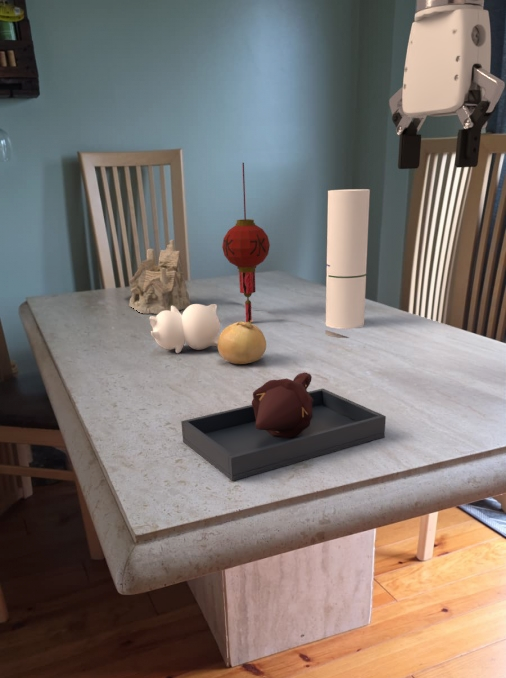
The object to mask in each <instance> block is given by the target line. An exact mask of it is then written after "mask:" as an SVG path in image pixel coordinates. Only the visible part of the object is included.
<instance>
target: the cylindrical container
mask: <svg viewBox="0 0 506 678" xmlns="http://www.w3.org/2000/svg"><path fill="white" fill-rule="evenodd" d="M370 192H371V189H366V188H361V189H360V188H359V189H358V188H357V189H356V188H354V189H353V188H352V189H330V190H327V226H326V227H327V229H326V231H327V232H326V233H327V234H326V237H327V239H326V286H325V288H326V289H325V290H326V291H325V293H326V294H325V295H326V296H325V326H326V327H328V328H331V329H340V330H348V329H349V330H351V329H357V328H361V327H363V326H365V313H366V312H365V311H366V309H365V308H366V287H367V286H366V285H367V266H368V265H367V262H368V241H369V216H370V215H369V214H370V196H371V193H370ZM325 335H327V336H328V337H333V338H340V339H346V338H347V339H349V338H350V336H346V335H343V334H340V333H337V332H334V331H330V330H328V329H326V330H325Z"/></svg>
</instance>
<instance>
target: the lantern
mask: <svg viewBox="0 0 506 678" xmlns="http://www.w3.org/2000/svg"><path fill="white" fill-rule="evenodd" d="M241 165H242V186H243V187H242V188H243V190H242V191H243V217H244V218H243V219H236V223H235V224H234V226H233V227H231V228H229V229H228V230H227V232H226V234H225V235H224V237H223V240H222V246H221V248H222V251H223V256H224V257H225V258H226V260H227V261H228V262H229V263H230V264H231V265H234V266H235V267H237V270H238V277H239V293H240V294H243V295H244V297H245V298H246V300H245V301H244V309H245V311H244V312H245V322H249V323H250V321H252V320H253V319H252V302H251V300H250V298H251V296H252V295H253V294H254V293H256V292H257V291H256V269H257V266H259V265H260V264H262V263H263V262H264V261H265V260H266V258H267V257H268V255H269V251H270V247H271V244H270V239H269V236H268V234H267V233H266V232H265V230H264V229H263V228H262V227H260V226H259V225H257V224H256V222H255V219H253V218H251V219H250V218H248V219H247V216H246V215H247V214H246V213H247V211H246V210H247V209H246V185H245V183H246V182H245V163H244V162H242V164H241ZM251 324H253V321H252V322H251Z"/></svg>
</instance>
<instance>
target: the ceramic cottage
mask: <svg viewBox="0 0 506 678" xmlns="http://www.w3.org/2000/svg"><path fill="white" fill-rule="evenodd" d="M157 263H158V264H157ZM183 263H184V262H183V259H182V257H181V252H180V250H176V245H175V239H170V240H169V244H167V245H166V248H165V249H160V252H159V258H158V262H157V256H156V251H155V249H154V248H148V249H147V250H146V259H145V260H142V261H141V264H140V265H139V267H138V268H137V271H136V272H135V273H134V275H133V276H132V277H131V278H130V280H129V284H130V285H131V288H130V293H131V297H130V298H129V303H128V306H129V307H130V308H131V307H132V309H133V308H134V309H133V310H134V311H136V310H137V311H138V312H140V313H139V314H141V313H143V314H145V315H146V314H147V315H150V314H153V315H158V314H159V313H160V312H162V311H165V310H168V311H171V306H172V305H173V306H175V307H176V308H177V309H178V311H182V310H185V309H186V308H187V307H188V306H190V305H192V304H191V299H190V295H189V292H188V288H187V287H188V286H187V283H186V280H185V279H184V276H185V275H184V274H185V272H184V269H183V266H184V264H183ZM137 311H136V312H137ZM138 312H137V313H138Z"/></svg>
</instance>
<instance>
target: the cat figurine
mask: <svg viewBox="0 0 506 678" xmlns="http://www.w3.org/2000/svg"><path fill="white" fill-rule="evenodd" d="M217 307H218V305H217V304H215V303H211V304H209V305H205V304H201V303H194V304H191V305H190V306H188V307H187V308H185V309H184V310H183V312H182V313H181V311H180V310H178V309H177V308H176V307H175V306H173V305H172V306H171V311H168V310H165V311H162V312H160V313H159V314H156V316H153V315H150V316H149V324H150V326H151V328H152V330H150V335H151V337H152V338H154V340H155V342H156V343H157V344H158V346H159V347H160V348H162V349H165V350H168V351H171V350H174V351H175V353H176V354H180V353H181V351H182V350H183V348H184V345H185V344H186V345H187V346H188V347H189V348H191V349H193V350H197V351H201V350H205V349H207V348H209V347H218V339H219V336H220V332H221V322H220V319H219V317H218V315H217Z"/></svg>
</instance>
